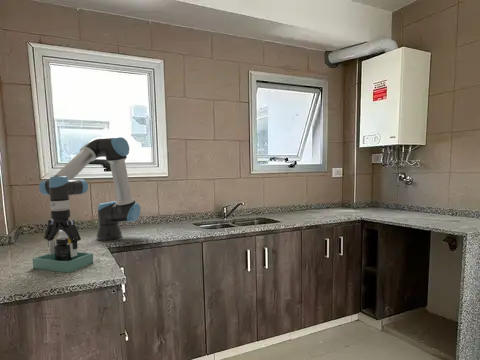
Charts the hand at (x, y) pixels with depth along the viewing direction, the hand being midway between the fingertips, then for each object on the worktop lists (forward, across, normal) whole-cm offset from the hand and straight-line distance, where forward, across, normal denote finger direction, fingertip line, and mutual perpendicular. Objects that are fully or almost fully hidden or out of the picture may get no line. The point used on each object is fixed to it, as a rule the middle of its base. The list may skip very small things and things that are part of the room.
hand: (63, 255), depth 138 cm
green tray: (+5, 0, 0) cm, 5 cm away
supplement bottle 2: (+4, 0, 0) cm, 5 cm away
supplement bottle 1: (+5, -17, +15) cm, 23 cm away
